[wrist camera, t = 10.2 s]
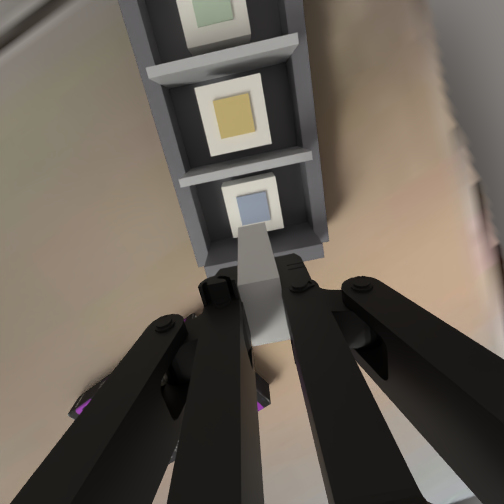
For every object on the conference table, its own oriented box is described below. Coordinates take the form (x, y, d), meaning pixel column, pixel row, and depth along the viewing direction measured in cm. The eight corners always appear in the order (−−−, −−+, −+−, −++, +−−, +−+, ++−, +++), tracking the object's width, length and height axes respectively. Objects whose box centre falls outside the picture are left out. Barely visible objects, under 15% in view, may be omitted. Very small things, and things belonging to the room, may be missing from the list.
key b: (234, 228, 28) (233, 238, 26) (223, 182, 26) (221, 188, 24) (280, 219, 28) (284, 228, 26) (272, 171, 26) (275, 176, 24)
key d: (213, 153, 24) (210, 156, 21) (199, 91, 22) (193, 87, 20) (268, 141, 24) (272, 143, 21) (258, 78, 22) (260, 72, 19)
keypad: (202, 254, 30) (193, 283, 25) (76, -180, 19) (7, -308, 13) (320, 230, 30) (339, 254, 24) (265, -232, 18) (276, -388, 13)
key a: (193, 56, 23) (187, 47, 20) (175, -16, 21) (167, -35, 19) (250, 43, 23) (251, 32, 20) (237, -32, 21) (236, -52, 18)
